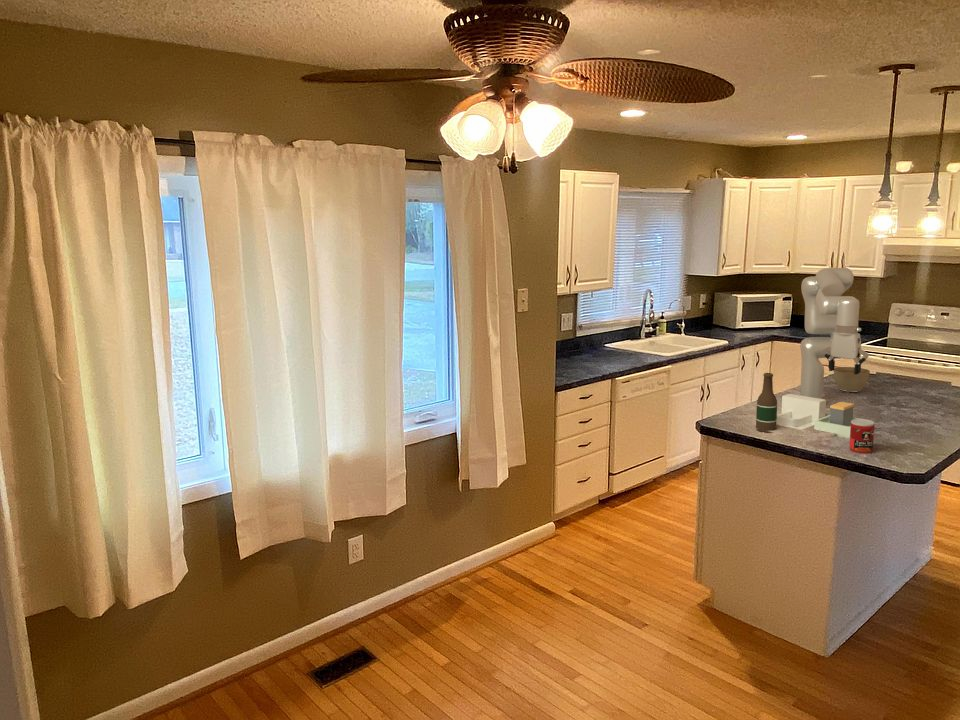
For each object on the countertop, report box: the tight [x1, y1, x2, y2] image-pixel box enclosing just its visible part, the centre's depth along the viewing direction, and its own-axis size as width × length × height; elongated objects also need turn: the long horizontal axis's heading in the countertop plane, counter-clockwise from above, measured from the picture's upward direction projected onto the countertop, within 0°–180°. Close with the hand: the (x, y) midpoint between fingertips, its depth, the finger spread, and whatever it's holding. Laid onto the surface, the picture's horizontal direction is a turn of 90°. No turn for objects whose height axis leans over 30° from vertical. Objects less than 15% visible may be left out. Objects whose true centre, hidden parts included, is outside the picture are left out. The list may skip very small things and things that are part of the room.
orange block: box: [829, 401, 855, 426], centre depth 277 cm, size 9×5×10 cm, turn 129°
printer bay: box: [776, 393, 827, 431], centre depth 290 cm, size 20×16×10 cm
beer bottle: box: [755, 372, 778, 434], centre depth 280 cm, size 8×8×24 cm
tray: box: [813, 414, 861, 440], centre depth 277 cm, size 16×14×4 cm
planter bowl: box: [832, 366, 871, 391], centre depth 344 cm, size 16×16×11 cm
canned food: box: [848, 418, 876, 454], centre depth 252 cm, size 8×8×11 cm
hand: (844, 372), depth 274 cm, fingers open, 9 cm apart
